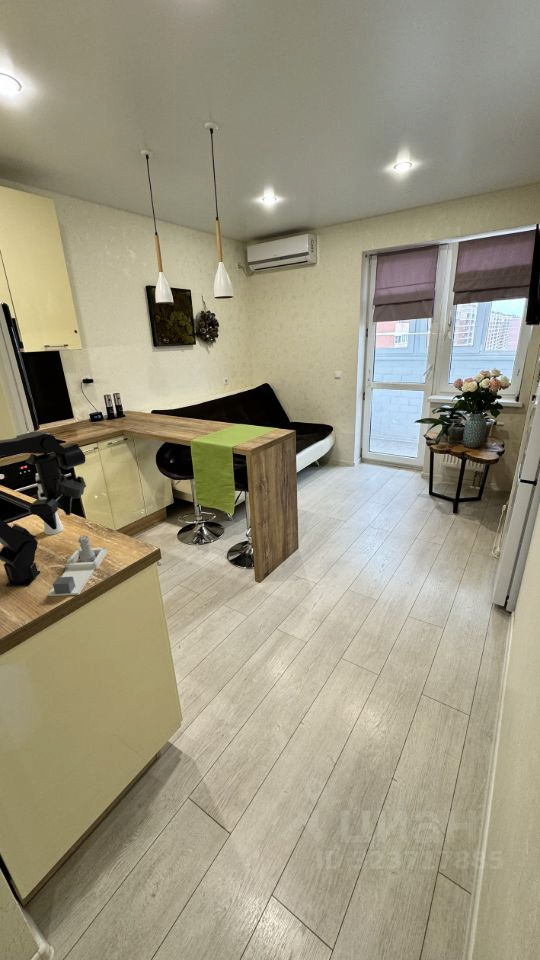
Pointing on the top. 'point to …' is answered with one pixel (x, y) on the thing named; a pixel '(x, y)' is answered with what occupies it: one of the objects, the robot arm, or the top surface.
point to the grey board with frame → (76, 574)
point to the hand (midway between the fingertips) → (61, 521)
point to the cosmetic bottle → (59, 525)
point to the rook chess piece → (86, 550)
